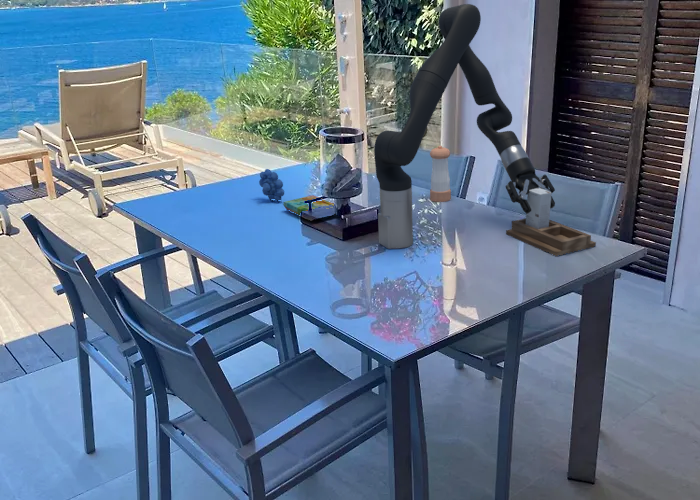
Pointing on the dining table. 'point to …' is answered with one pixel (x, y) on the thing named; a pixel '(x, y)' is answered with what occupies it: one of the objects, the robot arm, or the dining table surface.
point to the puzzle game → (304, 204)
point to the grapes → (271, 185)
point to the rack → (551, 237)
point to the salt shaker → (440, 175)
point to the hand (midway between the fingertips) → (540, 209)
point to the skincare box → (538, 208)
